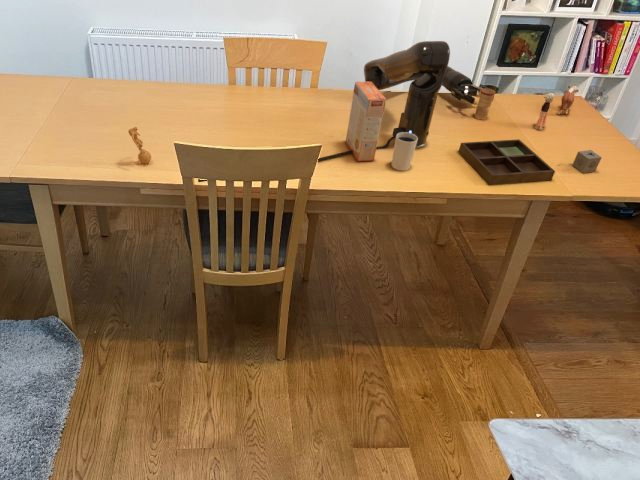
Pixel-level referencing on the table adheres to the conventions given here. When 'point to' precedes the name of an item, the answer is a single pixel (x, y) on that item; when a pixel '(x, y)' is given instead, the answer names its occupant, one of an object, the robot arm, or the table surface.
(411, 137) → the white cup
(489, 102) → the lidded canister
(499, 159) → the grid
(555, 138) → the table surface
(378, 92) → the cracker box
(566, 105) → the bull figurine
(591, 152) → the gray cube
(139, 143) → the figurine
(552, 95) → the grandmother figurine
